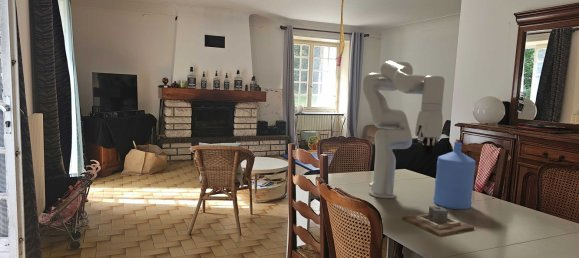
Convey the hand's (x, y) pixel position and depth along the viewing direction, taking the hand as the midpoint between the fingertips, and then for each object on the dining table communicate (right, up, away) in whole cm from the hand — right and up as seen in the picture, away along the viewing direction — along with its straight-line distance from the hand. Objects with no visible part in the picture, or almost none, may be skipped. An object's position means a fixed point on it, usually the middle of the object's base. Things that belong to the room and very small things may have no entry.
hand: (427, 155), depth 149 cm
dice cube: (+2, -25, -4) cm, 26 cm away
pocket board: (+2, -26, -4) cm, 26 cm away
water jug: (+19, -24, +22) cm, 38 cm away
